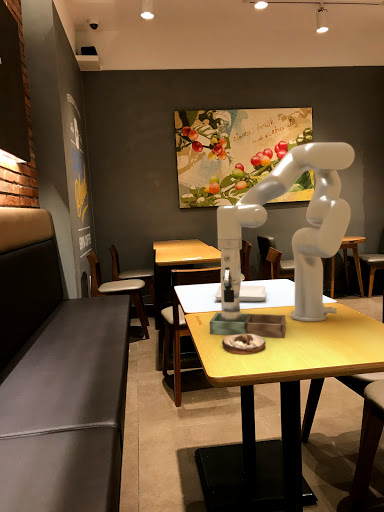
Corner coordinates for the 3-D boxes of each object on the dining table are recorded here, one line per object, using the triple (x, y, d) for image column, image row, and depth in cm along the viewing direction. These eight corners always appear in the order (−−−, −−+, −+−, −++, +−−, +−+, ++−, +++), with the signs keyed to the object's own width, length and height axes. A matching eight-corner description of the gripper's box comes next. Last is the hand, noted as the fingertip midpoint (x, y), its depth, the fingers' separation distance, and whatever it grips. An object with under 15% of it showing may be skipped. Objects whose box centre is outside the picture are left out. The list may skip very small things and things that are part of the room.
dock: (285, 326, 131) (285, 315, 130) (283, 337, 120) (283, 325, 120) (216, 323, 137) (216, 312, 136) (209, 333, 126) (209, 321, 126)
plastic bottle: (228, 320, 134) (227, 262, 132) (245, 323, 130) (244, 263, 128) (217, 325, 130) (215, 264, 127) (234, 329, 125) (233, 266, 123)
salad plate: (266, 304, 162) (266, 295, 162) (214, 303, 166) (214, 295, 165) (265, 292, 183) (265, 285, 183) (219, 292, 186) (219, 285, 186)
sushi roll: (217, 339, 122) (216, 326, 122) (266, 338, 121) (266, 325, 121) (218, 358, 108) (217, 343, 107) (273, 357, 107) (273, 342, 106)
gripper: (237, 247, 117) (238, 306, 119) (245, 241, 134) (246, 294, 136) (212, 247, 119) (214, 306, 121) (223, 241, 136) (224, 293, 138)
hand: (231, 299), depth 129 cm, fingers closed on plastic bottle, 6 cm apart
